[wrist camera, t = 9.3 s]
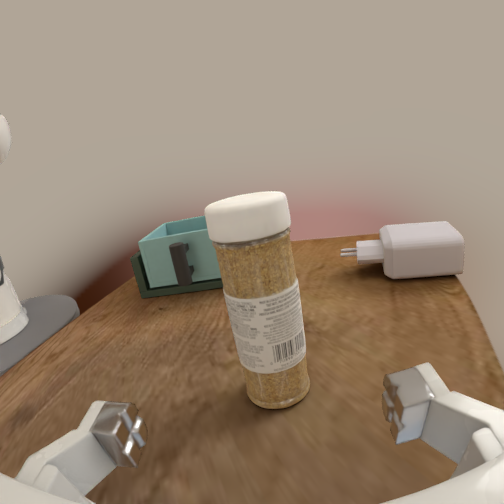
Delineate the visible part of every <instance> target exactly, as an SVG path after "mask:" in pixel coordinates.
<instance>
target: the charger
mask: <svg viewBox="0 0 504 504" xmlns="http://www.w3.org/2000/svg"><path fill="white" fill-rule="evenodd" d="M379 233H380V240H369V241H357V248H350V249H341V252H354V251H357V252H355V253H341V254H340V256H341V257H347V256H357V261H358V264H372V263H382V264H383V269H384V274H385V275H386V276H388V277H390V278H392V279H404V278H417V277H430V276H443V275H454V274H462V273H463V266H464V240H463V237H462V236H461V234H460V233H459V232H458V231H457V230H456V229H455V228H453V227H452V226H451V225H450V224H449V223H448V222H447V221H442V222H427V223H412V224H397V225H385V226H384V227H383V228H381V229H380V230H379Z"/></svg>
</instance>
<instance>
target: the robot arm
mask: <svg viewBox="0 0 504 504" xmlns="http://www.w3.org/2000/svg"><path fill="white" fill-rule="evenodd" d="M10 146H11V130H10V127H9V124H8V122H7V121H6V119H5V118H4V116H3V115H1V114H0V164H1V163H2V162H4V161H5V159H6V157H7V155H8V152H9V150H10ZM3 269H4V266H3V263H2V258H1V256H0V344H2V343H4V342H6V341H8V340H9V339H11V338H12V337H14V336H15V335H17V334H18V333H19V332H20V331H21V330H23V329H24V327H25V326H26V325H27V324H28V321H29V318H28V317H27V315H26V314H27V310H26V308H25V307H22V305H21V303H20V301H19V299H18V297H17V295H16V293H15V291H14V288H13V286H12V284H11V282H10V280H9V278H8V277H7V276H6V275H5V274H4V272H3ZM383 385H384V387H385V389H386V390H385V391H384V393H383V394H382V409H383V413H384V416H385V419H386V421H388V422H390V423H391V428H390V431H391V434H392V436H393V438H394V441H395V443H396V445H397V444H401V443H404V442H408V441H411V440H415V439H418V438H421V440H423V441H424V442H426V443H427V444H429V445H430V446H432V447H433V448H435V449H436V450H438V451H439V452H441V453H442V454H444V455H445V456H447V457H448V458H450V459H451V460H453V461H454V462H456V463H457V464H458V465H457V467H456V469H455V471H454V473H453V475H452V476H451V478H450V480H447V481H445V482H442V483H440V484H437V485H435V486H432V487H430V488H427V489H424V490H421V491H419V492H416V493H413V494H410V495H407V496H404V497H401V498H397V499H394V500H391V501H387V502H384V503H380V504H504V410H501V409H498V408H496V407H493V406H491V405H488V404H485V403H483V402H480V401H478V400H475V399H473V398H470V397H468V396H465V395H463V394H460V393H458V392H455V391H453V392H450V391H449V390H448V388H447V387H446V385H445V384H444V382H443V381H442V380H441V378H440V377H439V375H438V374H437V373H436V371H435V370H434V368H433V367H432V366H431V364H430V363H428V362H427V363H424V364H421V365H417V366H414V367H411V368H408V369H404V370H401V371H397V372H393V373H390V374H386V375H385V377H384V382H383ZM137 414H138V409H137V407H136V405H135V404H133V403H127V402H112V401H95V402H93V403H92V405H91V407H90V408H89V410H88V412H87V413H86V415H85V417H84V418H83V420H82V422H81V423H80V425H79V427H78V428H77V430H72V431H70V432H69V433H67V434H66V435H64V436H62V437H61V438H59V439H57V440H56V441H54V442H53V443H51V444H49V445H48V446H46V447H44V448H43V449H41V450H39V451H38V452H36V453H34V454H33V455H31V456H29V457H28V458H27V460H26V462H25V463H24V465H23V467H22V468H21V470H20V472H19V473H18V475H17V476H16V478H15V479H13V478H11V477H9V476H6V475H4V474H2V473H0V504H92V503H91V502H90V501H89V500H88V499H87V498H86V497H85V495H86V494H87V493H88V492H89V491H91V490H92V489H93V488H94V487H95V486H96V485H97V484H98V483H99V482H100V481H102V480H103V479H104V478H105V477H106V476H107V475H108V474H109V473H110V472H111V471H112V470H113V469H115V468H116V466H125V467H135V468H137V467H138V464H139V461H140V458H141V455H142V452H141V450H140V448H141V447H143V446H144V445H145V444H146V441H147V436H148V430H147V426H146V424H145V422H144V420H143V419H142V418H140V417H139V416H138V415H137Z"/></svg>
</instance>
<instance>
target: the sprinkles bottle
mask: <svg viewBox="0 0 504 504" xmlns="http://www.w3.org/2000/svg"><path fill="white" fill-rule="evenodd" d="M204 212H205V218H206V224H207V229H208V234H209V238H210V239H211V240H212V245H213V247H214V248H215V249H216V255H217V261H218V263H219V269H220V274H221V279H222V282H223V292H224V296H225V301H226V305H227V309H228V314H229V318H230V322H231V326H232V330H233V335H234V339H235V343H236V347H237V351H238V356H239V359H240V362H241V364H242V368H243V372H244V376H245V380H246V383H247V395H248V397H249V398H250V400H251V401H252V402H253V403H255V404H256V405H258V406H260V407H262V408H268V409H279V408H286V407H289V406H292V405H293V404H296V403H297V402H299V401H300V400H301V399H303V398H304V397H305V395H306V394H307V393H308V391H309V387H310V379H309V376H308V374H307V366H306V356H305V353H306V344H305V335H304V326H303V317H302V309H301V301H300V293H299V286H298V279H297V278H296V274H295V268H294V261H293V254H292V248H291V241H290V236H289V235H290V228H289V226H290V224H291V219H290V213H289V207H288V202H287V198H286V195H285V194H284V193H282V192H278V191H272V192H271V191H269V192H257V193H250V194H244V195H239V196H234V197H230V198H226V199H223V200H220V201H217V202H214V203H212V204H210V205H208V206H207V207H206V208H205V211H204Z"/></svg>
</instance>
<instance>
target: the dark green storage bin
mask: <svg viewBox="0 0 504 504" xmlns="http://www.w3.org/2000/svg"><path fill="white" fill-rule="evenodd" d="M130 260H131V263H132V267H133V270H134V274H135V277H136V281H137V284H138V287H139V290H140V294H141V297H142V298H149V297H156V296H164V295H172V294H179V293H187V292H194V291H201V290H208V289H216V288H222V287H223V282H222V279H221V278H216V279H209V280H203V281H196V282H192V284H190V285H188V286H179V285H178V284H175V285H168V286H160V287H153V288H150V284H149V281H148V277H147V274H146V270H145V267H144V263H143V259H142V256H141V252H140V251H138V252H137V253H136V254H135V255H133V256H132V257H131V258H130Z"/></svg>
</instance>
